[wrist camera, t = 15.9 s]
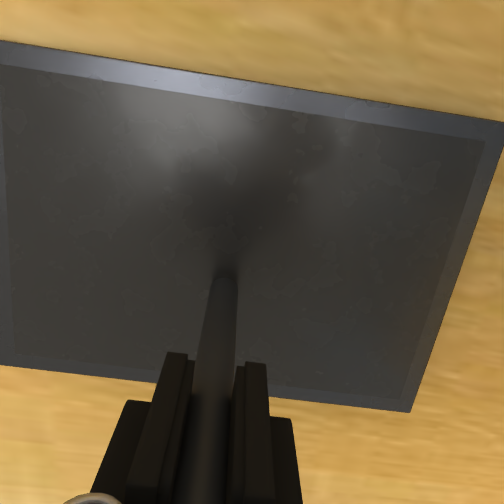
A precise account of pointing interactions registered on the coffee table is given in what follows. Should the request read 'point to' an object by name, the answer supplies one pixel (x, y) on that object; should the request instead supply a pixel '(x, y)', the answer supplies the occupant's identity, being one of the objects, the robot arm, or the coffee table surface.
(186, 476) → the stylus
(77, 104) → the tablet
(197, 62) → the coffee table surface
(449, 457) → the coffee table surface
